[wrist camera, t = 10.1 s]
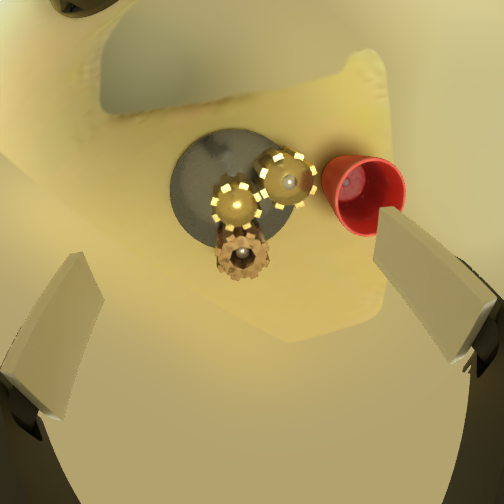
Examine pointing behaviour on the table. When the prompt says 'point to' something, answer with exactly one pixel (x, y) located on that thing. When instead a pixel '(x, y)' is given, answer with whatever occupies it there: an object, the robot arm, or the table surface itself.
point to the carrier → (238, 185)
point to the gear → (235, 239)
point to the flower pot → (362, 190)
